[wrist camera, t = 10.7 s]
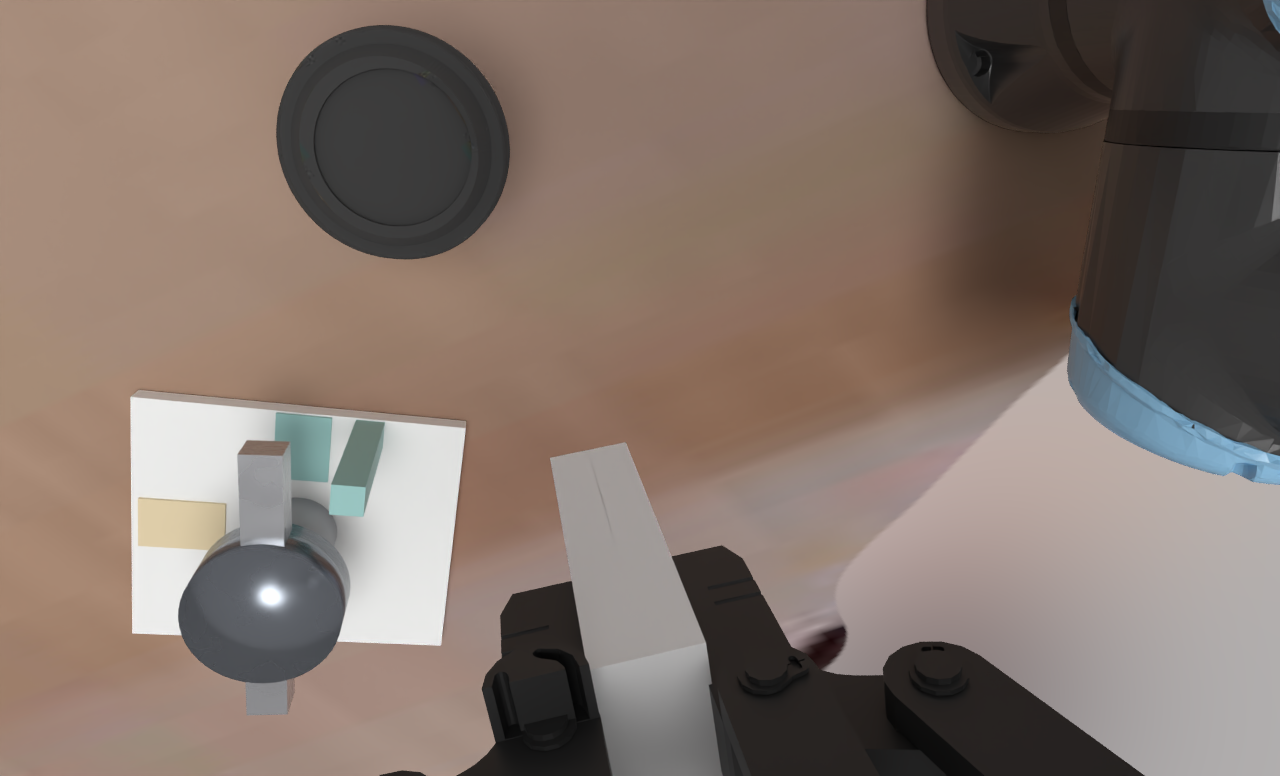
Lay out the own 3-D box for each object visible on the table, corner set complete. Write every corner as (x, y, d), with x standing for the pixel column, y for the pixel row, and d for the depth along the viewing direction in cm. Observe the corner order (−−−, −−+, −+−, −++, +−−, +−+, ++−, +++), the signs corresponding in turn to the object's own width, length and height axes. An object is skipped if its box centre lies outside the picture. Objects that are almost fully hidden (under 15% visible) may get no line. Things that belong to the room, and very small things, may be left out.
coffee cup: (397, 249, 48) (362, 313, 34) (292, 101, 45) (206, 106, 31) (534, 162, 48) (556, 191, 34) (439, 8, 44) (420, -31, 31)
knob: (349, 683, 48) (341, 720, 45) (202, 686, 46) (184, 724, 44) (351, 439, 43) (342, 462, 41) (188, 433, 42) (167, 457, 39)
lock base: (466, 420, 52) (462, 492, 43) (441, 634, 56) (433, 742, 47) (138, 389, 48) (56, 461, 39) (139, 621, 52) (65, 736, 43)
